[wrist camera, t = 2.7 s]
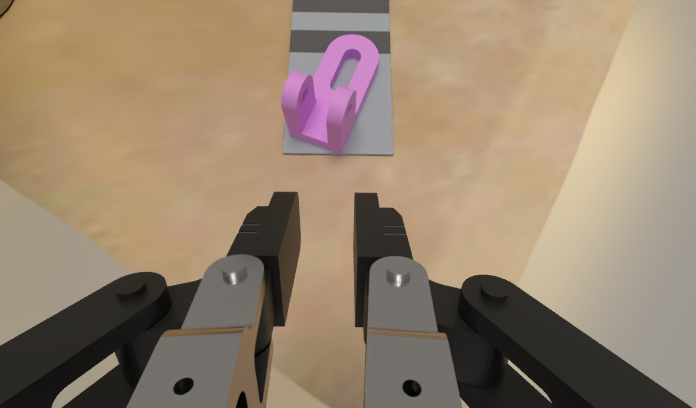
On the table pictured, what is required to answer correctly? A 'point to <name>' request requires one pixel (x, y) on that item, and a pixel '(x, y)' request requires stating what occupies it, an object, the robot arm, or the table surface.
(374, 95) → the lane
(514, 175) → the table surface
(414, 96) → the table surface
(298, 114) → the bracket
